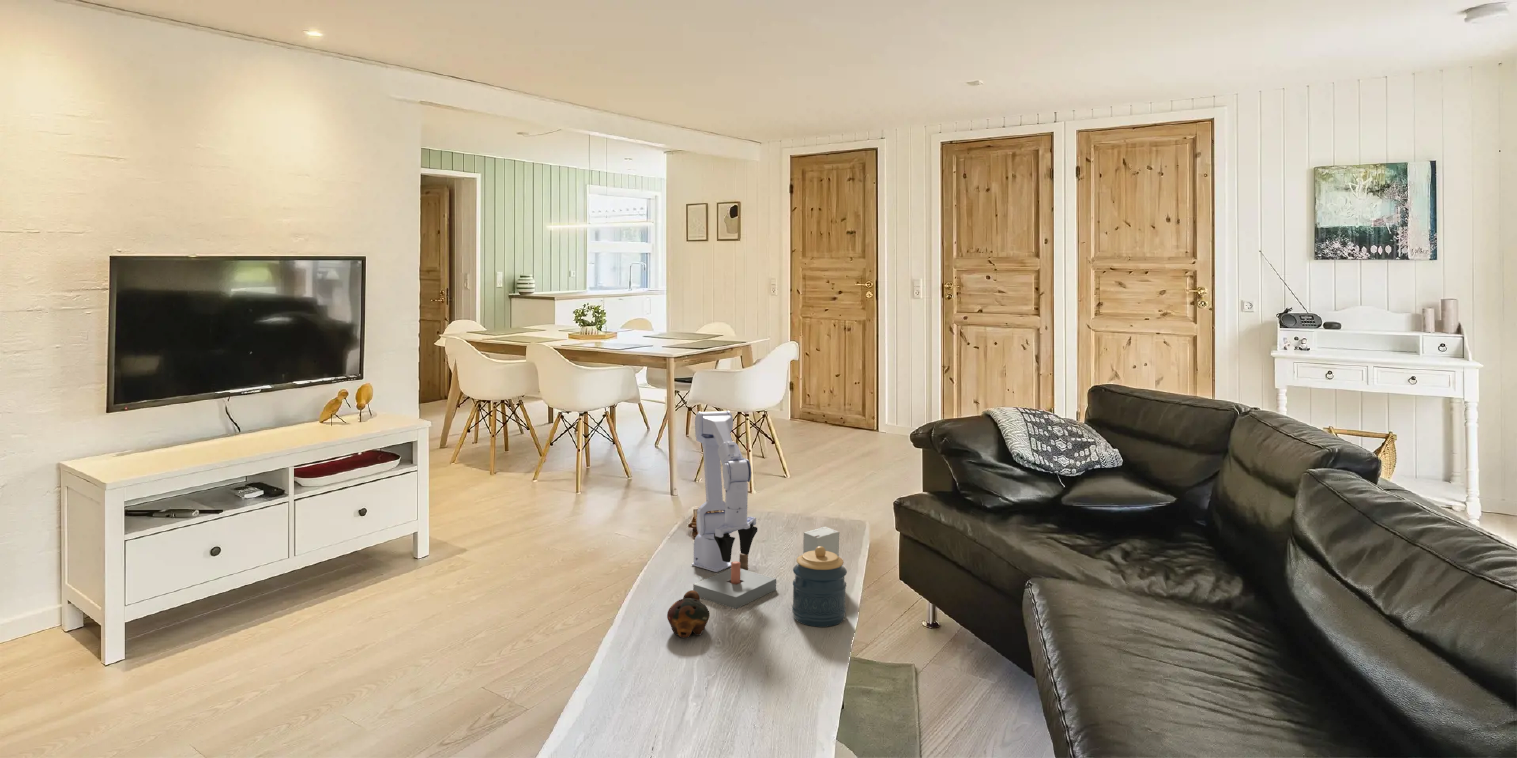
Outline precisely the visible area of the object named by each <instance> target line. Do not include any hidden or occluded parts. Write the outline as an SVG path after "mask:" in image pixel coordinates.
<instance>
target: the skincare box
mask: <svg viewBox="0 0 1517 758" xmlns="http://www.w3.org/2000/svg"><path fill="white" fill-rule="evenodd" d="M818 546H822V547H824V548H825V550H826V551H829V552H832V553H835V554H836V555H837V556H839V557H840V552H839V551H840V550H839V549H840V531H838V530H835V529H833V528H831V527H828V526H821V527H819V528H816V529H811V530H808V531H804V532H803V547H802V548H803V549H802V550H803V551H802V555H803V554H804V553H805V552H808V551H815V549H816V548H817V547H818Z"/></svg>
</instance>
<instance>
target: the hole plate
mask: <svg viewBox="0 0 1517 758" xmlns="http://www.w3.org/2000/svg"><path fill="white" fill-rule="evenodd" d="M692 589H693V590H694V591H696V592H697V593H698V594H699V598H700V599H703V600H706V601H709V602H713V603H715V604H719V605H721V606H725V607H728V608H731V609H735V610H737V609H738V608H740V607H742V606H746V605H747V604H750V603H752V602H753V601H755V600H757V599H759V598H761V597H764V596H765V595H768V594H770V593H773V592H774V591H776V590H777V578H776V577H773V576H769V575H765V574H761V573H757V572H755V571H751V570H749V569H748V570H744V569H741V568H740V583H739V584H737V585H736V584H732V583H731V568H729V569H727V570H723V571H721V572H718V573H717V574H715V575H714V574H713V575H712V576H710V577H708V578H705V579H702V580H700V581H698V582H696V583H693V588H692Z"/></svg>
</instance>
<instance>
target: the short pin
mask: <svg viewBox="0 0 1517 758" xmlns="http://www.w3.org/2000/svg"><path fill="white" fill-rule="evenodd" d="M738 559H739V561H738V562H740V568H741V569H744V570H748V571H749V554H748V555H745V554H742V553H741V552H740V553H739V558H738Z"/></svg>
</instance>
